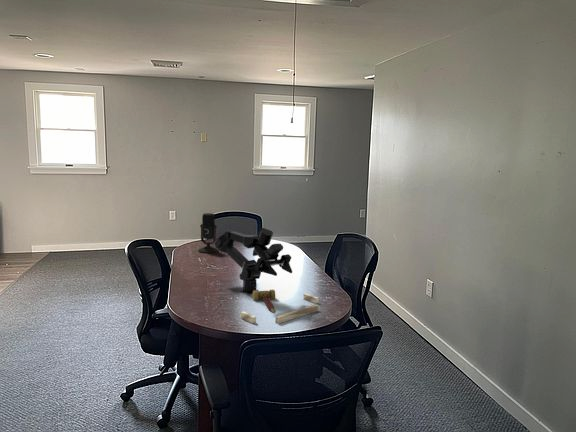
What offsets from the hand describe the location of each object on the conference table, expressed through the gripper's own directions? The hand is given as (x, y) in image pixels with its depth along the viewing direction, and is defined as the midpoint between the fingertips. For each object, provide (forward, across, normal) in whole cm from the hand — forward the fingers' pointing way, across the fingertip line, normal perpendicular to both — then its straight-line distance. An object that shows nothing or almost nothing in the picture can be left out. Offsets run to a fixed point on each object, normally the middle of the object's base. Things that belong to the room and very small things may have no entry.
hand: (284, 273), depth 204 cm
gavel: (+2, -4, +16) cm, 17 cm away
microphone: (-94, +33, +57) cm, 115 cm away
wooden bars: (+13, -4, +10) cm, 17 cm away
